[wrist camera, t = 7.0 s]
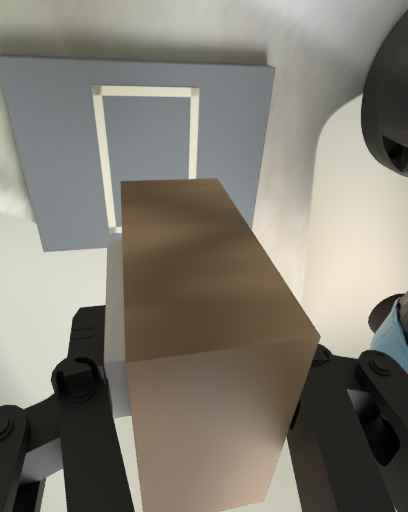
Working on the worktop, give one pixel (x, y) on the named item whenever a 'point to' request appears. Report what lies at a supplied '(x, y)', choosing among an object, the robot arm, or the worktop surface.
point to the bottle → (382, 312)
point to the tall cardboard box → (206, 347)
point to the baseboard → (130, 135)
